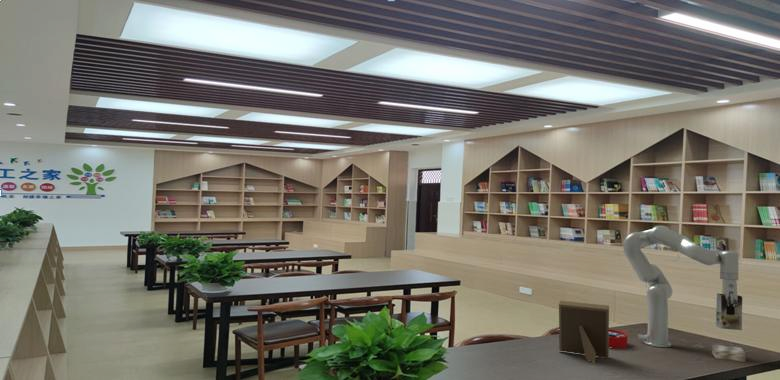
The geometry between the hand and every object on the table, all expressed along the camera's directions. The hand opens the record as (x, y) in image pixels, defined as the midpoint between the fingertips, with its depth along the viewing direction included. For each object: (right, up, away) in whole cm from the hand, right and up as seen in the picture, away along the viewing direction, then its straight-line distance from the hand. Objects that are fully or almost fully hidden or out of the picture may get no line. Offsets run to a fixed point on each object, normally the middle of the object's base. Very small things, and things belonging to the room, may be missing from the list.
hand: (729, 313), depth 255 cm
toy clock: (-52, -21, +19) cm, 59 cm away
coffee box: (0, -7, 0) cm, 7 cm away
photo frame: (-74, -19, -8) cm, 77 cm away
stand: (-1, -21, -1) cm, 21 cm away
